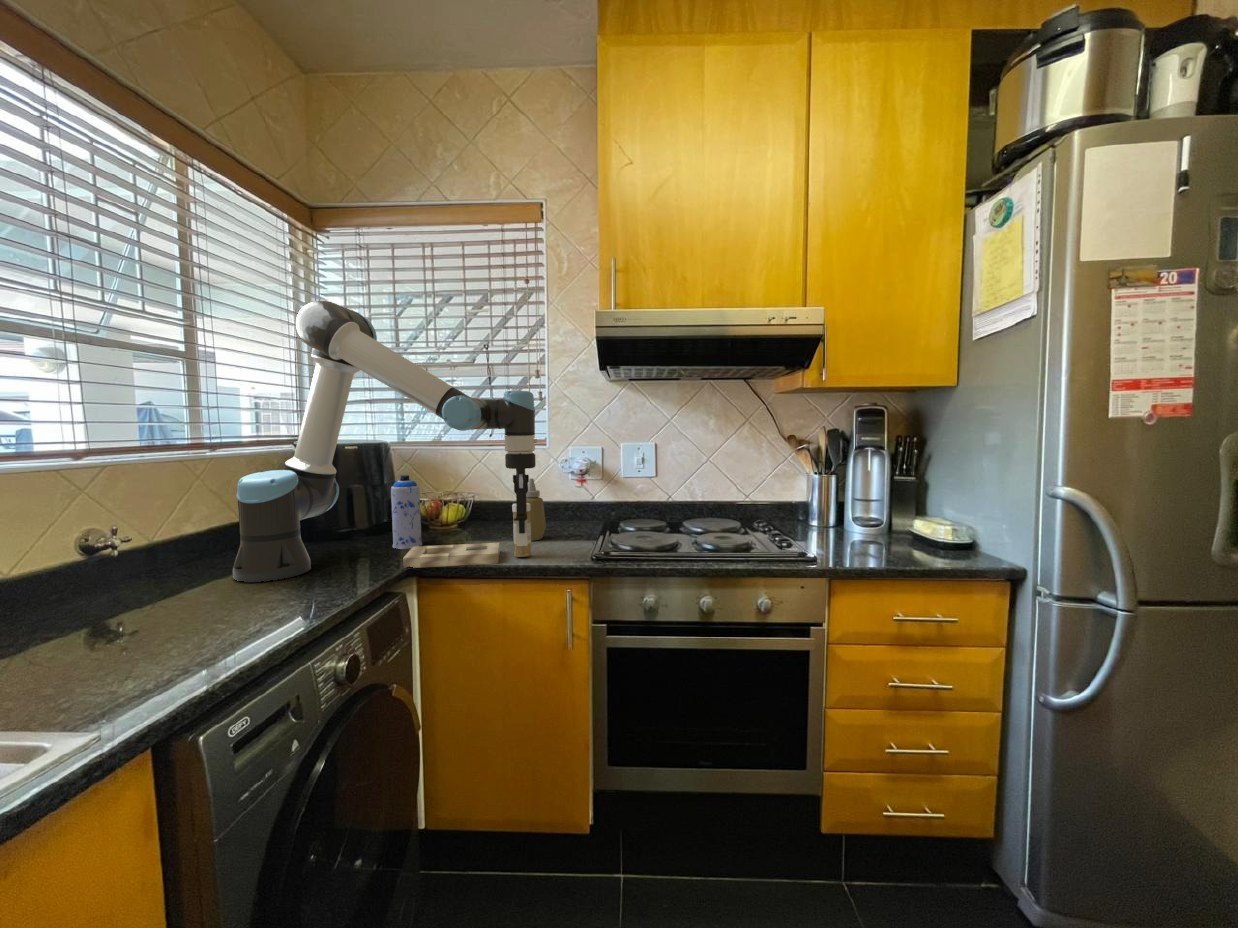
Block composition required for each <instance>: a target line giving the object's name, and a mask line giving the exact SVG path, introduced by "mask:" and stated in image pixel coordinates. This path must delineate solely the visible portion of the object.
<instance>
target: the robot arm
mask: <svg viewBox="0 0 1238 928" xmlns="http://www.w3.org/2000/svg"><path fill="white" fill-rule="evenodd" d="M297 313H298V314H297V315H296V319H295V328H296V331H297V334H298V336H299V338H301V340H302V342H303V343H304V344H305V345H307V346H308V347H310V348H312V349H311V350H312V351H311V354H310V356H311V358H312V359H313V361H314V362H315V368H314V372H313V375H312V376H313V377H312V380H311V384H310V387H309V392H308V397H307V401H306V404H305V408H304V413H303V417H302V421H301V425H300V429H299V430H300V431H299V434H298V436H297V437H298V438H297V441H296V447H295V451H294V455H293V456H292V457H291V458H289V459H287V460H285V462H284V465H283V469H277V470H276V469H274V470H266V471H263V472H261V471H259V472H255V473H251V474H247V475H245V476H242V477H241V478H240V479H239V480H238V482H237V489H236V490H237V492H236V495H235V496H236V500H237V509H238V522H239V523H238V525H239V534H240V536H239V537H240V538H239V539H240V541H239V542H240V545H239V548H238V552H237V555H236V557H235V561H234V563H233V564H234V565H233V567H232V578H234V579H235V580H237V581H236V582H239V581H244V582H243V583H261V581H264V582H271V581H270V580H273V581H278V579H279V580H284V578H285V579H290V578H292V577H296V576H299V575H302V574H305V573H307V572H308V571H310V570H312V567H311V564H312V563H311V557H310V556H309V553H308V551H307V549H306V546H305V544H304V542H303V540H302V537H301V522H300V521H302V520H305V519H309V518H313V517H318V516H321V515H322V514H324V513H326V512H328V511H329V510H331V508H333V507H334V505H335V504H336V502H337V500H338V498H339V494H340V486H339V484H338V482H337V479H336V475H337V469H336V467H335V466H334V465H333V460H334V456H335V452H336V448H337V444H338V441H339V435H340V432H341V428H342V423H343V421H344V420H343V419H344V416H345V410H346V407H347V403H348V399H349V395H350V391H351V388H352V383H353V380H354V375H355V374H357V373H358V372H360V371H361V372H363V373H365V374H367V375H368V376H370V377H372V378H373V379H375V380H376V381H378V382H380V383H382V384H383V385H385V386H387V387H388V388H391V390H393V391H395V392H397V393H399V394H401V395H402V396H404V397H406V398H407V399H408V400H410V401H412V402H414V403H416V404H418V405H419V406H421V407H423V408H424V409H425V410H427V411H429V412H430V413H432V414H434V415H436V416H437V417H439V418H440V419H441V420H443V421H444V422H445V423H446V425H447V426H448V427H450V428H451V429H454V430H456V431H460V432H462V431H463V432H466V431H470V430H471V431H473V430H504V451H505V452H507V453H506V454H505V458H504V459H505V461H504V462H505V468H506V469H508V470H514V469H515V474H513V475H512V482H513V491H514V493H515V494H516V495H515V497H516V502H515V503H516V507H517V516H516V518H514V521H516V535H517V546H528V537H527V507H526V493H527V492H528V484H529V479H530V476H529V474H526V469H534V468H535V467H536V466H537V465H536V454H535V453H534V452H535V450H536V444H537V443H538V439H537V438H535V436H536V433H535V432H536V424H535V423H536V422H535V421H536V418H535V417H536V415H535V414H536V412H535V411H536V408H535V397H534V394H533V393H532V391H528V390H507V391H505V392H504V393H503V398H500V399H499V398H495V399H489V398H488V399H487V398H475V397H471V396H469V395H468V394H466V393H465V392H462V391H461V390H459V389H458V388H456V387H454V386H452V385H451V384H449V383H447V382H446V381H444V380H443V379H440V378H439V377H437V376H436V375H434V374H432V373H431V372H429V371H428V370H426V369H424V368H422V367H421V366H419V365H417V364H416V363H414V362H412V361H411V360H409V359H408V358H406V357H404V356H402V355H401V354H400V353H397V352H396V351H394V350H392V349H391V348H389V347H388V346H386V345H384V344H383V343H381V342H379V341H378V338H377V336H378V335H377V332H376V331H377V330H376V329H375V327H374V325H373V324H372V323H371V321H370V320H369V319H368V318H367V317H366V316H363V315H362V314H360V312H357V311H354V310H353V309H349V308H347V307H344V306H342V305H339V304H337V303H335V302H333V301H328V300H321V299H320V300H315V301H311V302H308V303H306V304H305V305H304V306H302V307H301V309H300V310H299V311H298V312H297ZM234 579H233V580H234ZM235 580H234V581H235Z"/></svg>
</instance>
